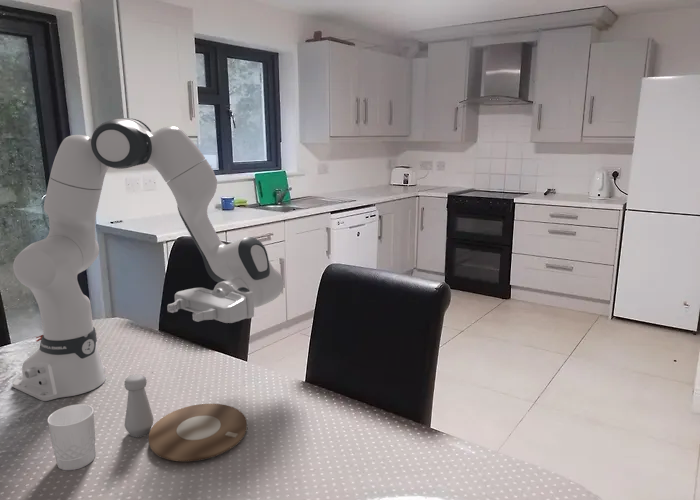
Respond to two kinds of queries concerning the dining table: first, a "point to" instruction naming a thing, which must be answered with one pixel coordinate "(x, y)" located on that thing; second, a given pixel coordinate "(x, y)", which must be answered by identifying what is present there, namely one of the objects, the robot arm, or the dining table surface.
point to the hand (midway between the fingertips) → (181, 313)
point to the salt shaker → (137, 407)
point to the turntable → (197, 432)
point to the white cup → (73, 436)
